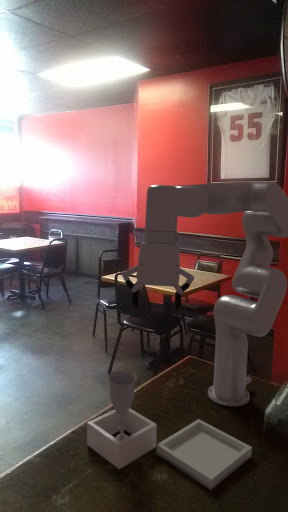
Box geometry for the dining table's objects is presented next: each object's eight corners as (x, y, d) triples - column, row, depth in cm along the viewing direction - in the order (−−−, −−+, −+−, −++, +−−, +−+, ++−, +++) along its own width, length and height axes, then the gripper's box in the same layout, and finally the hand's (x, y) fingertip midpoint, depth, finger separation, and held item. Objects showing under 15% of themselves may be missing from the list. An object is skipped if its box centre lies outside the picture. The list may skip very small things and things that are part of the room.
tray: (198, 427, 109) (198, 419, 108) (251, 456, 97) (251, 447, 97) (156, 454, 97) (156, 444, 97) (210, 490, 86) (211, 479, 86)
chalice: (131, 457, 96) (132, 386, 93) (103, 453, 97) (104, 382, 94) (138, 438, 103) (139, 372, 100) (112, 435, 105) (112, 369, 101)
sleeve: (123, 425, 109) (124, 404, 108) (156, 446, 100) (156, 424, 99) (87, 444, 100) (87, 422, 99) (119, 469, 92) (119, 445, 91)
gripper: (194, 238, 100) (189, 306, 103) (124, 234, 100) (121, 302, 102) (198, 241, 93) (193, 314, 95) (123, 237, 93) (119, 310, 95)
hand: (156, 308), depth 99 cm, fingers open, 9 cm apart
